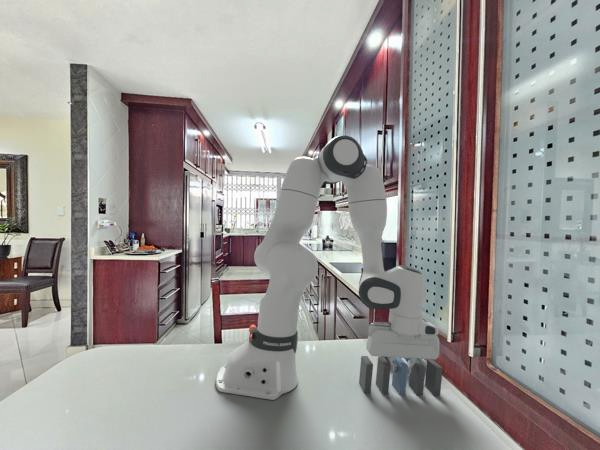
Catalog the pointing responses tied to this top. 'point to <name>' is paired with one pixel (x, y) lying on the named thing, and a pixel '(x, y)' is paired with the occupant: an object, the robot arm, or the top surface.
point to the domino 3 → (400, 376)
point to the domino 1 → (366, 374)
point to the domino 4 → (417, 378)
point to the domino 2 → (383, 375)
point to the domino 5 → (433, 377)
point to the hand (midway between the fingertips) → (400, 371)
